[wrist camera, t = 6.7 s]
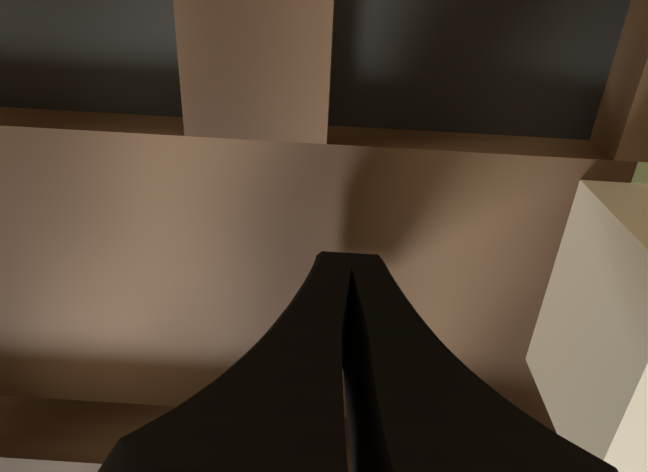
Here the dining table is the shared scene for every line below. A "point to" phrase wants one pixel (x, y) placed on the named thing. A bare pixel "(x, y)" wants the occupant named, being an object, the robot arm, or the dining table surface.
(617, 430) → the cream block
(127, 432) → the trap box
